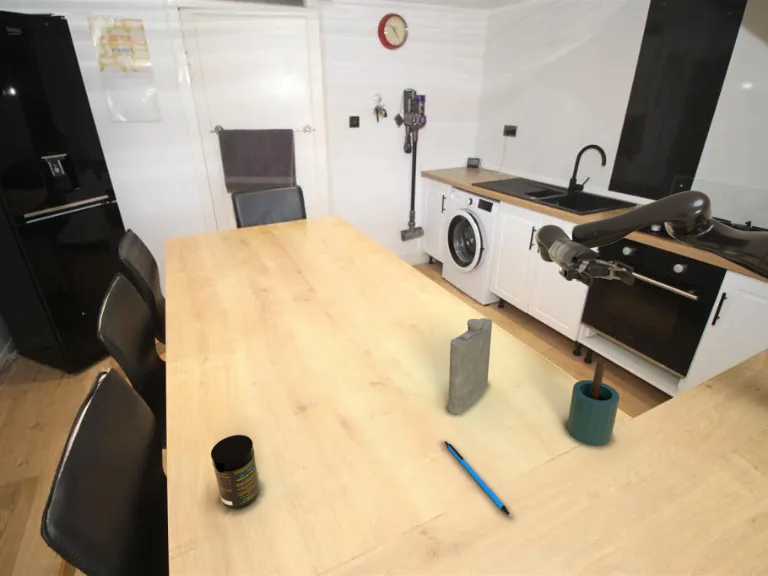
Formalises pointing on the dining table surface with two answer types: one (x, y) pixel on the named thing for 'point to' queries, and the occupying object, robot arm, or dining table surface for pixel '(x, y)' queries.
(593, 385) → the brush
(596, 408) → the teal pen holder
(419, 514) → the dining table surface
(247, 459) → the supplement container
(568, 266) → the robot arm
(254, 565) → the dining table surface
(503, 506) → the pen
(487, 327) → the hip flask
